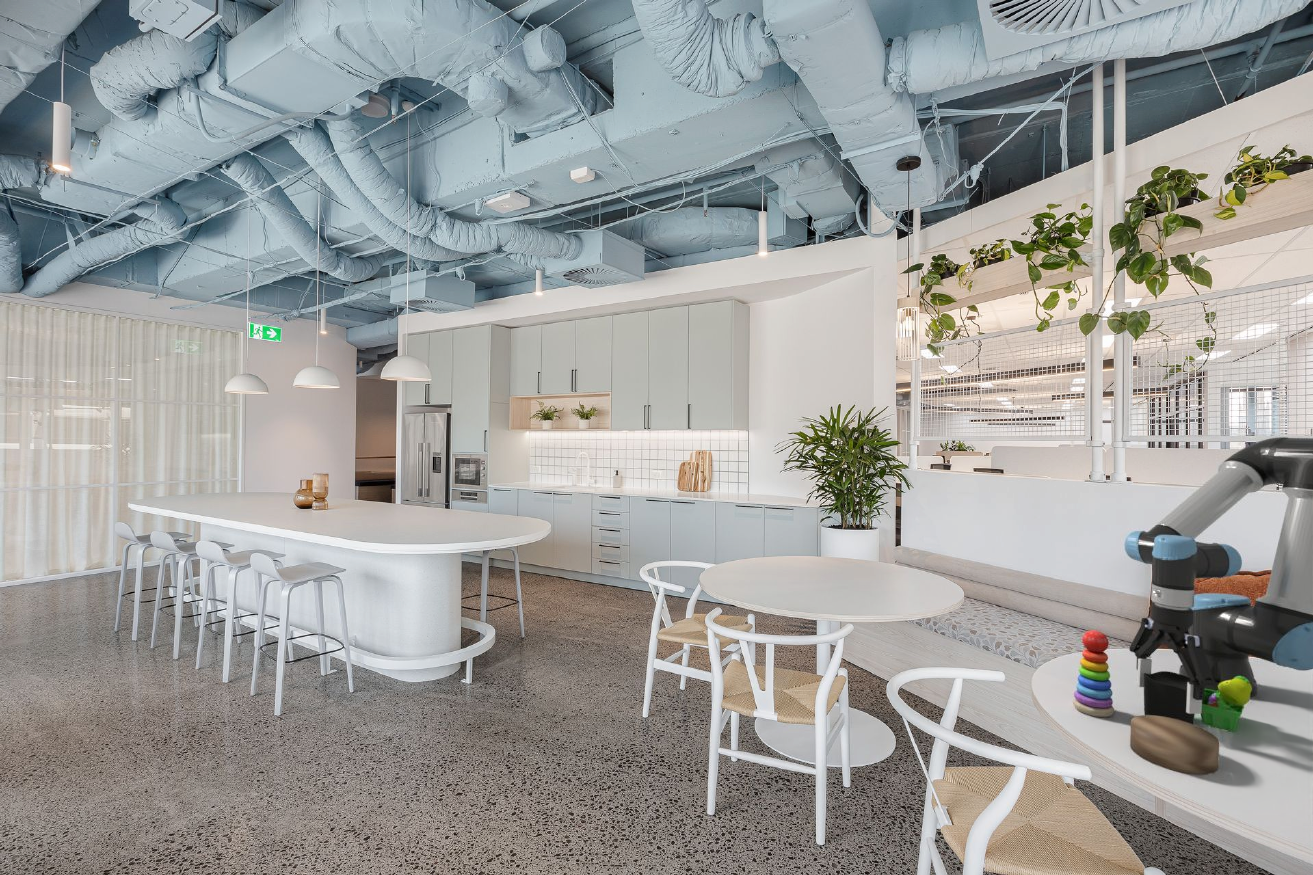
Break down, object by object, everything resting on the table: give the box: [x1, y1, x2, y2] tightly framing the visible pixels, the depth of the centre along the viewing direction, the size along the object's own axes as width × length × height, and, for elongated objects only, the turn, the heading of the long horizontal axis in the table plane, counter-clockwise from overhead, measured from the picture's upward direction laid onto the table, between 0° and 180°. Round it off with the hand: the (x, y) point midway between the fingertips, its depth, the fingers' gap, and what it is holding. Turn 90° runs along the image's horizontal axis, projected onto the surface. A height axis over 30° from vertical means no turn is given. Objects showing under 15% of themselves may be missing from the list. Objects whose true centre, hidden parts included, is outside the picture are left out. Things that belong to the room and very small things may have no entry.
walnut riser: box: [1129, 714, 1220, 775], centre depth 132 cm, size 14×14×5 cm
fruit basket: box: [1200, 676, 1252, 733], centre depth 146 cm, size 11×9×11 cm
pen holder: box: [1143, 670, 1195, 725], centre depth 147 cm, size 9×9×10 cm
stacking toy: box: [1072, 629, 1115, 718], centre depth 152 cm, size 8×8×19 cm
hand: (1167, 699), depth 146 cm, fingers open, 13 cm apart
